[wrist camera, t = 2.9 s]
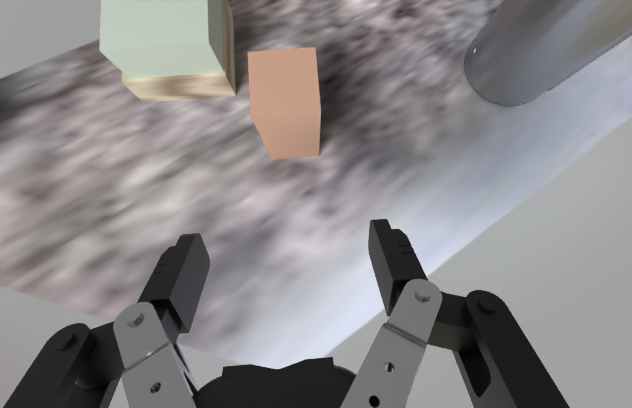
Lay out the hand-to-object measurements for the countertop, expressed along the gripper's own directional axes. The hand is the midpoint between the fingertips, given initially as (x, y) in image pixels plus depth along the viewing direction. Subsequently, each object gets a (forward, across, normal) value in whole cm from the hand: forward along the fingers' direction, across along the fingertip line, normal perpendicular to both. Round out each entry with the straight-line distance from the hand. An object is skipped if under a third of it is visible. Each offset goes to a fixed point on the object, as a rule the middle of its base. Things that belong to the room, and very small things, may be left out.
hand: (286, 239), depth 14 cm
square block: (+19, 0, +2) cm, 19 cm away
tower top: (+24, +11, -7) cm, 27 cm away
